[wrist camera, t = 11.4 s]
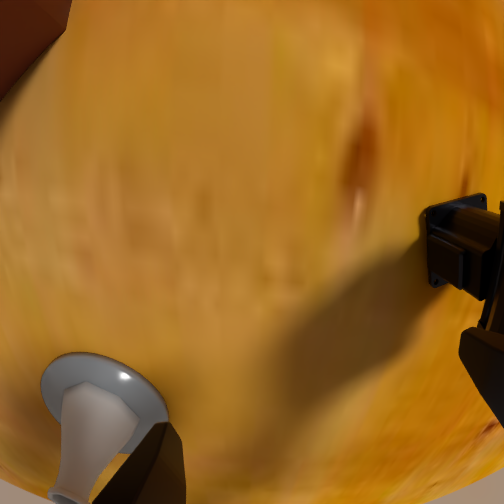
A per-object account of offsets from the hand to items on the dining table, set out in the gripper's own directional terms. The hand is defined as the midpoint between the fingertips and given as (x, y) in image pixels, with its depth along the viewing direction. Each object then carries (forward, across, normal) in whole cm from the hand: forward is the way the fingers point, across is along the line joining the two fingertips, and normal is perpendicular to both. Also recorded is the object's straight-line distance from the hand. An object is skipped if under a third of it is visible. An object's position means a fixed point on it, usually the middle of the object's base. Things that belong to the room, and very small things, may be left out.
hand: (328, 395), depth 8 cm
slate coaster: (+13, +17, +10) cm, 24 cm away
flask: (+12, +17, +10) cm, 23 cm away
